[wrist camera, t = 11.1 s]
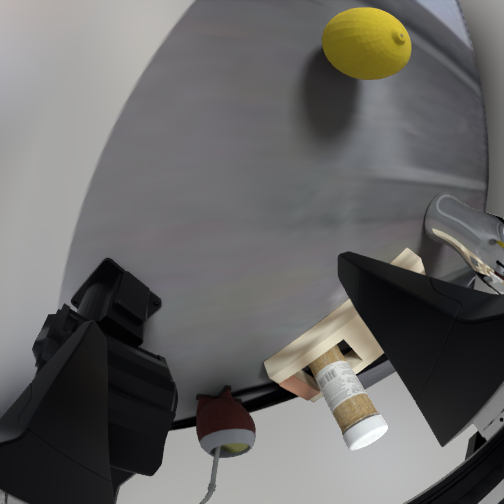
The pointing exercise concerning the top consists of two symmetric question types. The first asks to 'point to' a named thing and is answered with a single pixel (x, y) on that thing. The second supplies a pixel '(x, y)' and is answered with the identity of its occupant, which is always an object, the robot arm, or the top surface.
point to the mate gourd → (223, 429)
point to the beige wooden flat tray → (331, 343)
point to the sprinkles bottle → (347, 400)
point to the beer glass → (469, 237)
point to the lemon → (366, 43)
